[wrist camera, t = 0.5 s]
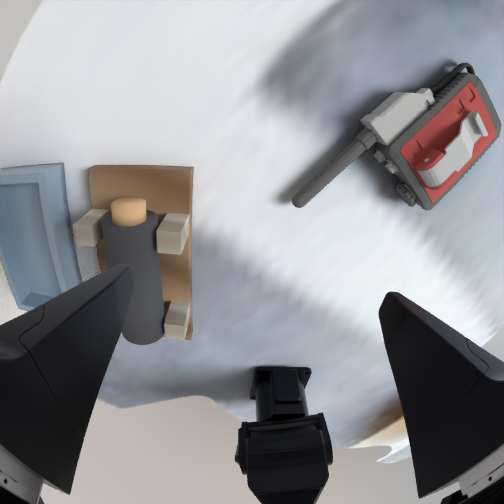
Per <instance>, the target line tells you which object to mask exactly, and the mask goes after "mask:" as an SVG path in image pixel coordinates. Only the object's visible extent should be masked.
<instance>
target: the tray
mask: <svg viewBox="0 0 504 504" xmlns="http://www.w3.org/2000/svg"><path fill="white" fill-rule="evenodd" d="M0 259H1V262H2V265H3V268H4V271H5V274H6V277H7V280H8V283H9V285H10V288H11V291H12V293H13V296H14V299H15V301H16V303H17V306H18V308H19V309H22V310H26V311H30V310H32V309H34V308H36V307H38V306H39V305H41V304H45V302H47V301H49V300H51V299H52V298H54V297H56V296H58V295H60V294H62V293H64V292H65V291H67V290H69V289H71V288H73V287H75V286H77V285H79V284H81V283H82V278H81V274H80V270H79V266H78V261H77V256H76V251H75V246H74V241H73V235H72V230H71V223H70V217H69V210H68V202H67V194H66V184H65V173H64V163H54V164H41V165H29V166H19V167H10V168H1V169H0Z"/></svg>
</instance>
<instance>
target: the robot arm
mask: <svg viewBox="0 0 504 504" xmlns="http://www.w3.org/2000/svg"><path fill="white" fill-rule="evenodd" d="M133 290H134V284H133V274H132V268H131V266H130V265H125V264H118V265H116V266H114V267H112V268H110V269H108V270H106V271H104V272H102V273H100V274H98V275H96V276H94V277H92V278H90V279H89V280H87V281H85V282H83V283H81V284H79V285H77V286H75V287H73V288H71V289H69V290H67V291H65V292H64V293H62V294H60V295H58V296H56V297H54V298H52V299H51V300H49V301H47V302H45V304H41V305H39V306H38V307H36V308H34V309H32V310H30V311H28V312H26V313H25V314H23V315H21V316H19V317H16V318H14V319H12V320H10V321H8V322H6V323H4V324H2V325H0V504H44V502H43V500H42V498H41V496H40V493H41V490H42V486H43V483H44V484H47V485H48V486H51V487H53V488H55V489H57V490H60V491H62V492H64V493H66V494H70V492H71V488H72V484H73V480H74V475H75V471H76V467H77V463H78V459H79V455H80V451H81V448H82V444H83V441H84V438H83V437H85V433H86V430H87V427H88V423H89V420H90V417H91V414H92V410H93V408H94V404H95V402H96V399H97V396H98V393H99V390H100V387H101V384H102V381H103V378H104V376H105V373H106V370H107V367H108V365H109V362H110V359H111V357H112V354H113V352H114V349H115V347H116V344H117V341H118V339H119V337H120V334H121V331H122V329H123V325H124V322H125V318H126V315H127V311H128V308H129V304H130V301H131V298H132V295H133ZM379 319H380V324H381V328H382V333H383V338H384V343H385V348H386V351H387V355H388V358H389V362H390V365H391V369H392V372H393V376H394V379H395V383H396V387H397V391H398V394H399V398H400V402H401V406H402V411H403V415H404V419H405V424H406V428H407V433H408V437H409V442H410V447H411V453H412V459H413V465H414V470H415V477H416V484H417V491H418V496H419V498H423V497H425V496H427V495H430V494H432V493H435V492H437V491H439V490H441V489H444V488H446V487H448V486H450V485H452V484H454V483H456V482H459V485H460V488H461V489H460V490H458V491H457V492H455V493H453V494H451V495H449V496H447V497H445V498H443V499H442V502H441V504H504V362H503V361H501V360H500V359H498V358H496V357H495V356H493V355H491V354H490V353H488V352H487V351H485V350H484V349H482V348H481V347H479V346H478V345H476V344H475V343H474V342H472V341H471V340H469V339H468V338H466V337H464V336H463V335H462V334H460V333H459V332H458V331H456V330H455V329H453V328H452V327H450V326H449V325H447V324H446V323H444V322H443V321H441V320H440V319H438V318H437V317H435V316H434V315H432V314H431V313H429V312H428V311H426V310H425V309H423V308H422V307H420V306H419V305H417V304H415V303H414V302H412V301H411V300H409V299H408V298H406V297H405V296H403V295H402V294H400V293H398V292H388V293H387V294H386V295H385V298H384V300H383V302H382V304H381V307H380V309H379ZM310 375H311V369H310V368H265V367H258V368H256V369H255V371H254V376H253V381H252V386H251V391H250V399H252V400H256V417H257V422H242V427H241V428H240V429H238V431H239V432H238V445H237V449H236V454H235V461H236V462H237V463H238V464H239V465H240V468H241V471H242V474H243V475H246V474H247V481H248V486H249V488H250V490H251V491H252V492H253V493H254V495H255V496H256V497H257V499H258V500H259V501H260V502H261V503H262V504H315V503H316V502H317V500H318V498H319V496H320V494H321V492H322V490H323V488H324V486H325V484H326V482H327V480H328V478H329V472H328V465H331V464H332V462H333V454H332V445H331V440H330V436H329V432H328V429H327V425H326V422H325V418H324V415H323V413H318V414H316V415H309V414H308V408H307V402H306V396H305V391H304V389H305V387H306V385H307V382H308V380H309V378H310Z"/></svg>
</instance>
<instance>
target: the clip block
mask: <svg viewBox="0 0 504 504" xmlns="http://www.w3.org/2000/svg"><path fill="white" fill-rule="evenodd" d="M193 168H194V167H182V166H155V165H95V166H93V167H91V168H89V169H88V175H89V189H90V200H91V210H90V211H88V212H87V213H86V214H85V215H84V216H82V217H81V218H80V219H79V220H78V221H77V222H76V223H74V224H73V229H74V235H75V241H76V245H79V246H89V247H95V246H96V247H97V253H98V259H99V264H100V270H101V273H102V272H104V271H106V270H108V266H107V261H106V254H105V248H104V241H103V234H102V226H101V221H102V220H103V218H104V217H106V216H107V215H109V214H111V213H112V212H111V203H112V202H113V201H115V200H117V199H119V198H124V197H141V198H143V199H145V200H146V210H150V211H152V212H154V213H156V214H157V216H158V229H157V230H156V233H157V252H158V253H160V268H161V281H162V293H163V303H164V313H165V323H164V327H165V334H164V335H163V336H162V337H166V338H170V339H179V340H191V338H192V333H193V327H192V290H191V228H192V191H193Z"/></svg>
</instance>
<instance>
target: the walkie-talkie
mask: <svg viewBox="0 0 504 504" xmlns="http://www.w3.org/2000/svg"><path fill="white" fill-rule="evenodd" d="M464 68H467V71H468V73H460V72H461V71H462V70H463V69H464ZM360 121H361V123H362V124H363V125H364V126H365V128H364V129H363V130H362V131H361V132H359V133H358V134H357V135H356V136H355V140H354V141H352V142H351V143H350V144H349V145H348V146H347V147H346V148H345V149H344V150H343V151H342V152H341V153H340V154H338V155H337V156H336V157H335V158H334V159H333V160H332V161H331V162H330V163H329V164H328V165H327V166H326V167H324V168H323V169H322V170H321V171H320V172H319V173H318V174H317V175H316V176H315V177H314V178H313V179H312V180H311V181H310V182H309V183H308V184H306V185H305V186H304V187H303V188H302V189H301V190H300V191H299V192H298V193H297V194H296V195H295V196H294V197H293V198H292V203H293V205H294V206H295V207H298V208H301V207H303V206H305V205H306V204H307V203H308V202H309V201H310V200H311V199H312V198H313V197H314V196H315V195H317V194H318V193H319V192H320V191H321V190H322V189H323V188H324V187H325V186H326V185H327V184H329V183H330V182H331V181H332V180H333V179H334V178H335V177H336V176H337V175H338V174H339V173H341V172H342V171H343V170H344V169H345V168H346V167H347V166H348V165H349V164H350V163H351V162H352V161H354V160H355V159H356V158H357V157H358V156H359V155H360V154H361V153H362V152H363V151H364V150H368V149H369V148H370V147H371V146H373V145H374V144H375V143H376V142H377V144H376V153H375V154H374V155H373V156H374V157H375V159H376V160H377V161H378V162H380V163H381V162H382V161H383V160H385V161H386V162H387V164H386V165H385V167H386V168H387V170H388V171H389V172H390V173H392V174H393V173H394V174H395V175H396V176H397V178H398V179H399V181H400V182H401V184H400V183H399V184H398V185H397V186H396V191H397V193H398V194H399V195H400V197H401V198H402V199H403V200H404V201H405V202H406V203H407V204H408V205H409V206H412V207H413V206H414V205H415V204H416V203H417V204H418V205H419V206H421V207H422V208H423V209H425V210H431V209H432V208H433V207H434V206H435V205H436V204H437V203H438V202H439V201H440V200H441V199H442V198H443V197H444V196H445V195H446V194H447V193H448V192H449V191H450V190H451V189H452V188H453V187H454V186H455V185H456V184H457V183H458V182H459V181H460V180H461V179H462V178H463V177H464V175H465V174H466V173H467V171H468V170H469V169H471V167H472V166H474V164H475V163H476V162H477V161H478V159H479V158H481V156H482V155H484V153H485V152H486V151H487V150H488V148H489V147H491V145H492V144H493V143H494V141H496V139H497V138H498V137H499V134H500V130H501V122H500V120H499V117H498V115H497V112H496V110H495V108H494V106H493V104H492V101H491V99H490V97H489V95H488V93H487V91H486V89H485V87H484V85H483V83H482V81H481V80H480V79H479V78H478V77H477V76H476V75H475V72H474V70H473V67H472V66H471V65H470V64H468V63H461V64H459V65H458V66H457V67H456V68H454V69H453V70H452V71H451V72H450V73H449V74H448V75H447V76H446V77H445V78H444V79H443V80H442V81H440V82H439V83H438V84H437V85H436V86H434V87H429V88H421V89H420V90H419V91H417V92H416V93H407V92H394V93H393V94H391V95H390V96H389V97H388V98H387V99H386V100H385V101H384V102H382V103H381V104H380V105H379V106H378V107H377V108H376V109H375V110H373V111H372V112H371V113H370V114H366V115H365V116H364V117H363V118H362V119H361V120H360Z"/></svg>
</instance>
